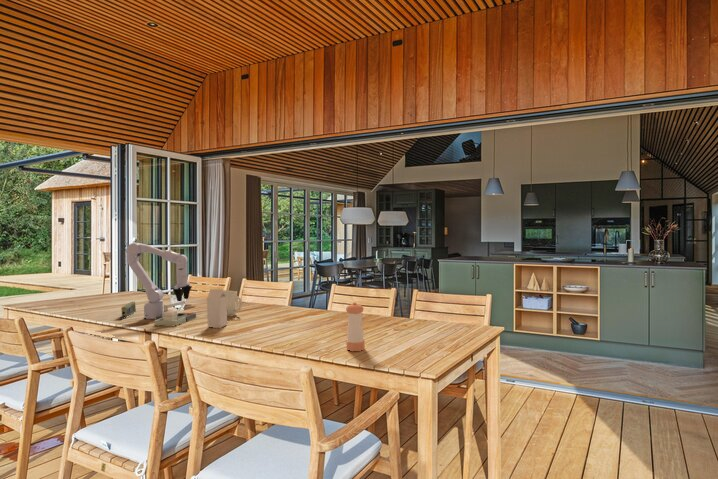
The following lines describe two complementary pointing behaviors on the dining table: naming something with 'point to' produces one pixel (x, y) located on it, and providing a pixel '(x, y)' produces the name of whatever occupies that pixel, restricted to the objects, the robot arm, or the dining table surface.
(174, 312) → the plug
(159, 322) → the tray
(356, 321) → the pepper shaker
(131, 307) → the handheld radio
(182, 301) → the clip
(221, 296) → the milk carton
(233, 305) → the pitcher
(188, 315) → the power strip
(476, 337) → the dining table surface
